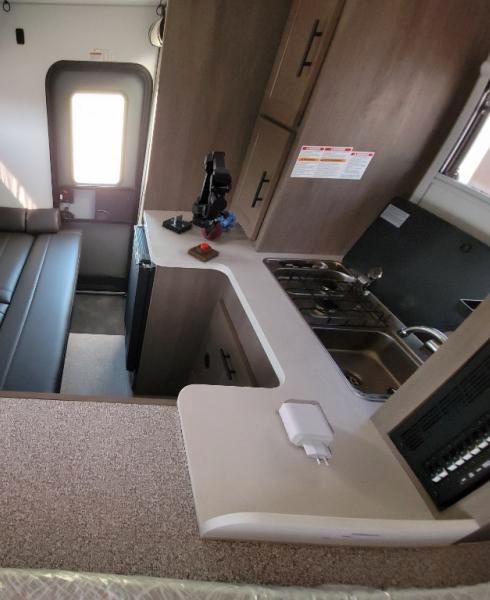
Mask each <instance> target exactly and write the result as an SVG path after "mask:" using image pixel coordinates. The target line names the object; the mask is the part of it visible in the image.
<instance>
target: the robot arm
mask: <svg viewBox="0 0 490 600" xmlns="http://www.w3.org/2000/svg"><path fill="white" fill-rule="evenodd" d="M226 156H227V155H226V152H225V151H224V150H213V151H212V152H210V153H207V154H206V155H205V157H204V161H203V162H204V163H203V165H204V170H205V176H204V180H203V183H202V188H201V191H200V194H199V195H198V196H197V197H196V199H195V202H193V204H192V206H191V213H192V214H193V215H192V219H191V220H190V221H189V223H191V224H192V225H194V226H196V227H199V228H201V229H202V228H205V233H206V236H209V235H210V233H211V232H212V231H213V230H214V229H215V227H216V226H217V225H218V224H219V223H220V222H221V221H219V220H218V218H219V217H222V216H224V217H223V218H224V219H227V218H229V210H227V209H226V208H227V207H228V201H227V198H226V194H230V193H231V190H232V188H233V187H232V186H233V177H232V175H231V172H230V170H229V169H228V168H226V158H227V157H226ZM226 210H227V211H226Z"/></svg>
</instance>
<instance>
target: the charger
mask: <svg viewBox="0 0 490 600" xmlns="http://www.w3.org/2000/svg"><path fill="white" fill-rule="evenodd" d="M278 413H279V416H280V418H281V421H282V424H283V426H284V429H285V431H286V434H287V436H288V439H289V441H290V442H291V443H292V444H293V445H294V446H297V447H303V449H304V451H305V454H306V455H307V456H308V457H309V458H312V459H316V462H317V464H318V465H319V466H321V465H322V463H321V461H320V460H323V461H324V462H325V465H326V466H327V467H328V466H330V464H329V462H328V460H327V459H332V458H333V455H332V453H331V452H330V449H329V446H331V444H332V443H333V442H334V440H335V439H336V438H335V435H334V433H333V431H332V429H331V428H330V424H329V423H328V421H327V419H326V417H325V415H324V413H323V411H322V410H321V408H320V406H319V405H317V404H309V403H300V402H299V403H297V402H285V403H282V405H281V406H280V408H279V410H278Z"/></svg>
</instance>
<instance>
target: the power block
mask: <svg viewBox="0 0 490 600" xmlns="http://www.w3.org/2000/svg"><path fill="white" fill-rule="evenodd" d="M201 244H202V243H200V244H198V245H196V246H193V247H192V248H189V249H188V251H187V254H188V255H189V256H192V257H193V258H195V259H197V260H198V261H201V262H203V263H207V262H209V261H210V260H212V259H215V258H217V257H218V256H219V253H220V251H218V250H216V249H214V248H212V246H211V245H209V248H208V249H207V250H204V249H201V248H200V247H201Z"/></svg>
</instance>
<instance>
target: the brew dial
mask: <svg viewBox="0 0 490 600" xmlns="http://www.w3.org/2000/svg"><path fill="white" fill-rule="evenodd" d="M173 217H174V224H177V223H180V222H182V220H183V217H184V216H183V214H182V213H181V214H180V213H179V214H177V215H174V216H173Z"/></svg>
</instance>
